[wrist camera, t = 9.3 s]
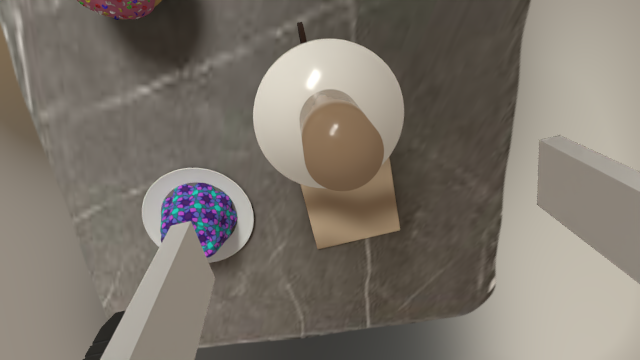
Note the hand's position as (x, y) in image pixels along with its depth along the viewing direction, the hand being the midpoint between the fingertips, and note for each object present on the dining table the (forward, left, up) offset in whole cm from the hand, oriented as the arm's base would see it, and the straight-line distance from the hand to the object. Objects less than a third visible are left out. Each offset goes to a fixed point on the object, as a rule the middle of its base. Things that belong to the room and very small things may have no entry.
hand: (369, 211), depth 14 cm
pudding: (+11, -16, -26) cm, 32 cm away
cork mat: (+13, +1, -26) cm, 29 cm away
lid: (0, 0, -16) cm, 16 cm away
